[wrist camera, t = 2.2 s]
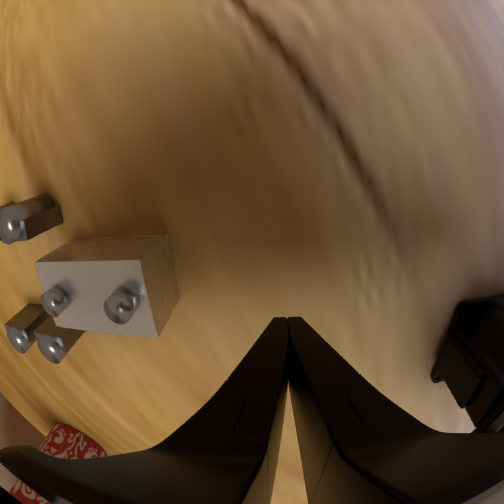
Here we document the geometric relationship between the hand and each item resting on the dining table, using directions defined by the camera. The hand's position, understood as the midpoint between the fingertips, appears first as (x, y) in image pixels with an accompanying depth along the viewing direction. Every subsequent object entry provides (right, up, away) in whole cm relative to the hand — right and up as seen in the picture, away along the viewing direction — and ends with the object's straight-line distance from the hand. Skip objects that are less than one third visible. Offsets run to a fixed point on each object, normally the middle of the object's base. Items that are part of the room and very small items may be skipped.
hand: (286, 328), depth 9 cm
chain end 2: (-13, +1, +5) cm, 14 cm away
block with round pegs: (-8, +2, +5) cm, 10 cm away
